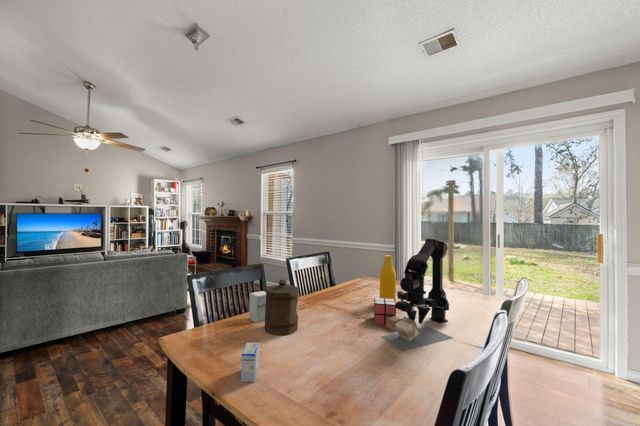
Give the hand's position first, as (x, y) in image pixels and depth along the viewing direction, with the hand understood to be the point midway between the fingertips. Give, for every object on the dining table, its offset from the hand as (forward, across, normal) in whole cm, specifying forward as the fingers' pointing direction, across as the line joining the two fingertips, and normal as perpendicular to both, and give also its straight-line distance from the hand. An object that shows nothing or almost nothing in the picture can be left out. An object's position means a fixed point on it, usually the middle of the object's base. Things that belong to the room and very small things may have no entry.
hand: (416, 324), depth 120 cm
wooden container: (+6, +49, -32) cm, 59 cm away
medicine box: (+7, +70, -1) cm, 71 cm away
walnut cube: (+6, +2, -11) cm, 13 cm away
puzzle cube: (+6, 0, -20) cm, 21 cm away
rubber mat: (+5, 0, +1) cm, 5 cm away
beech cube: (0, +2, 0) cm, 2 cm away
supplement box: (+6, +55, -48) cm, 74 cm away
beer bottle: (+5, -18, -39) cm, 43 cm away
